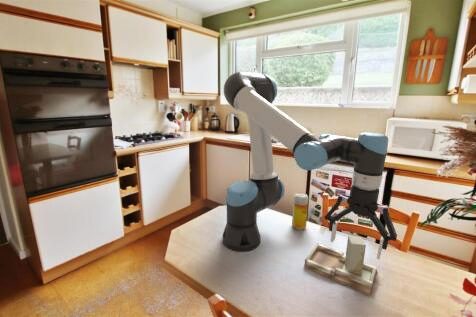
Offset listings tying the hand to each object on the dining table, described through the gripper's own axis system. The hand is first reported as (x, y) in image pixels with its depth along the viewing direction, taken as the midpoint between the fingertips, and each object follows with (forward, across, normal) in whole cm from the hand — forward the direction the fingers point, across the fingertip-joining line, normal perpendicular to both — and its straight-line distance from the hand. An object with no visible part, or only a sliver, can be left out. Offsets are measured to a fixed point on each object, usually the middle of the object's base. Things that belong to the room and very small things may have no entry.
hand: (354, 248), depth 79 cm
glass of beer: (+10, -25, +17) cm, 32 cm away
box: (+8, +1, 0) cm, 8 cm away
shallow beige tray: (+9, -3, 0) cm, 10 cm away
